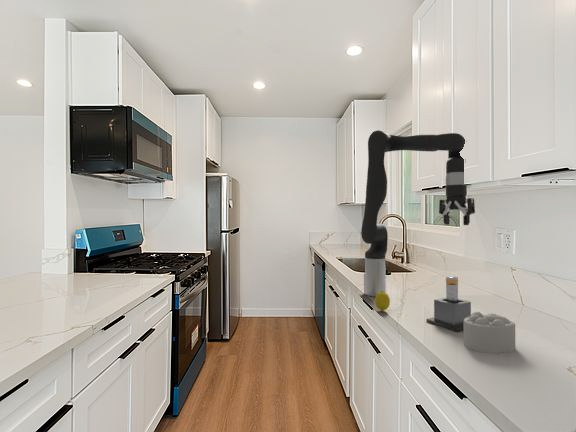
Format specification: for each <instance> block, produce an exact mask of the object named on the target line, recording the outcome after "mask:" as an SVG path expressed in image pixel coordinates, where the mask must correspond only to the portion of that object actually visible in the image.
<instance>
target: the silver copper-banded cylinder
mask: <svg viewBox="0 0 576 432" xmlns="http://www.w3.org/2000/svg"><path fill="white" fill-rule="evenodd" d="M445 285H446V286H445V289H446V290H445V292H446V293H445V295H446V297H445V298H446V302H450V303H458V299H459V277H458V276H454V275H453V276H452V275H447V276H446V277H445Z"/></svg>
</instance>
